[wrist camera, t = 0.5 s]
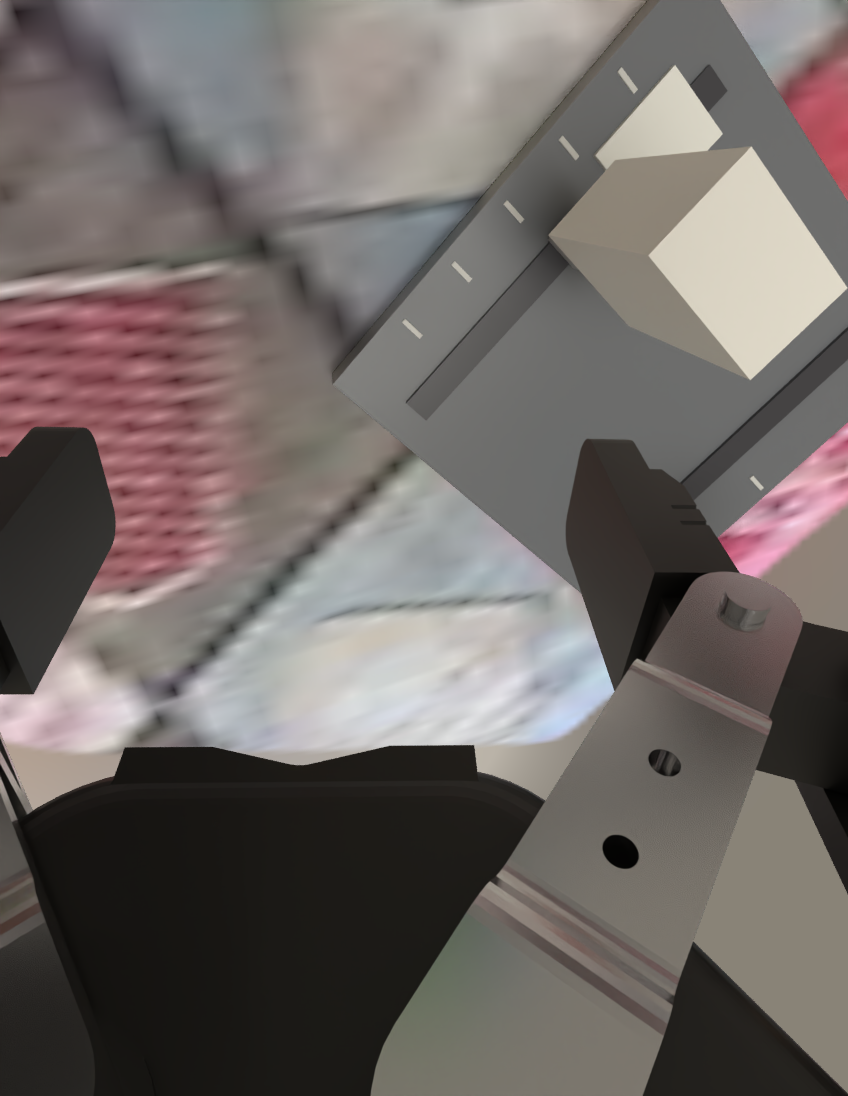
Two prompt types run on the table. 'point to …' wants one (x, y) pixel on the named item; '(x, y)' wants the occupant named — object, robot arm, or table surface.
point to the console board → (606, 306)
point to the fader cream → (701, 255)
